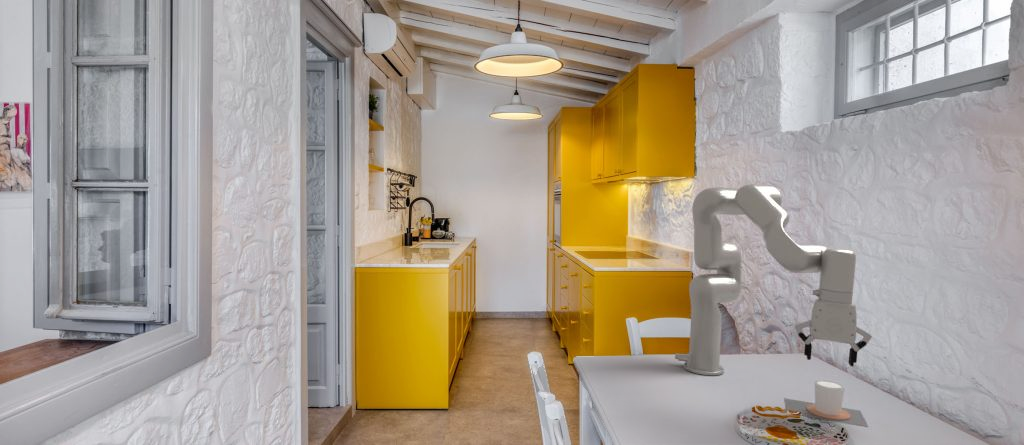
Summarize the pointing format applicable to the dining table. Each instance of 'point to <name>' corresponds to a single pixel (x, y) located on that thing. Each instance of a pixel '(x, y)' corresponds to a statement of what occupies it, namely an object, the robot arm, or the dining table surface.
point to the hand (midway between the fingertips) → (829, 361)
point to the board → (802, 407)
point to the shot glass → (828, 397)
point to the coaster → (842, 416)
